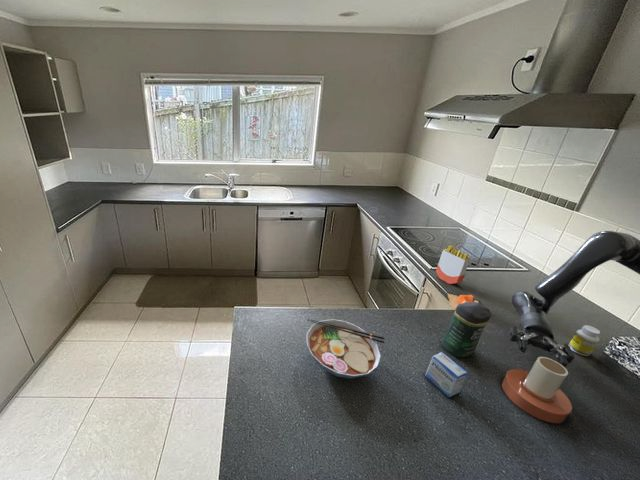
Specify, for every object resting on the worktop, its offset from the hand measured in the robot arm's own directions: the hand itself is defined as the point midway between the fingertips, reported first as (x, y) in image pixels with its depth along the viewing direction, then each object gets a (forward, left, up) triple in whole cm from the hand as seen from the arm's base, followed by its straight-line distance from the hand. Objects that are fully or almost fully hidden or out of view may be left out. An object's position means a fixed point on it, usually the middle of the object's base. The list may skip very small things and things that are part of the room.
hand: (543, 357), depth 83 cm
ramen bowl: (+50, +31, -10) cm, 60 cm away
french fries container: (+26, -51, -10) cm, 58 cm away
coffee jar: (+19, -1, -10) cm, 22 cm away
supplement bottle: (-16, -29, -10) cm, 35 cm away
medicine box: (+22, +19, -10) cm, 31 cm away
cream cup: (0, +7, -6) cm, 9 cm away
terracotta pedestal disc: (0, +7, -10) cm, 12 cm away
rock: (+18, -33, -10) cm, 39 cm away
